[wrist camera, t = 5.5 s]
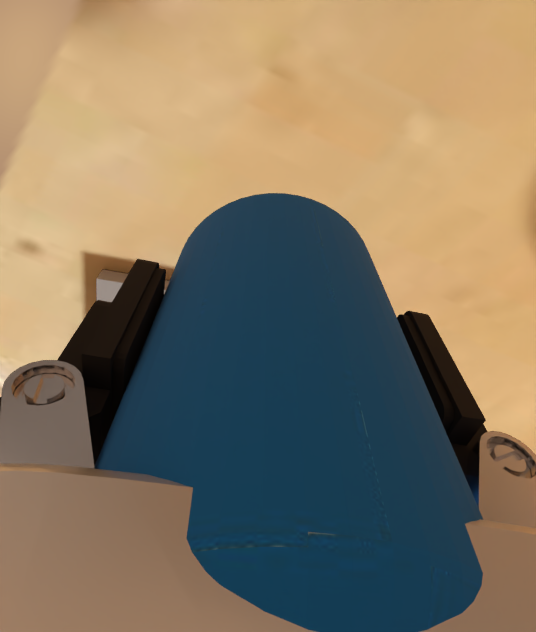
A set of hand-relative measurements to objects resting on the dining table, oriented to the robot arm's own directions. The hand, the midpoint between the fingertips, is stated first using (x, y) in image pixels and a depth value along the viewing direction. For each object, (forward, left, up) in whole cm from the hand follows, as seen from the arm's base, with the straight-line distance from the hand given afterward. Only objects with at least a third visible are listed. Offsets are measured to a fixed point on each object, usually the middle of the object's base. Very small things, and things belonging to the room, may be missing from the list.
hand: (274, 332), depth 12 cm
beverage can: (0, 0, -3) cm, 3 cm away
